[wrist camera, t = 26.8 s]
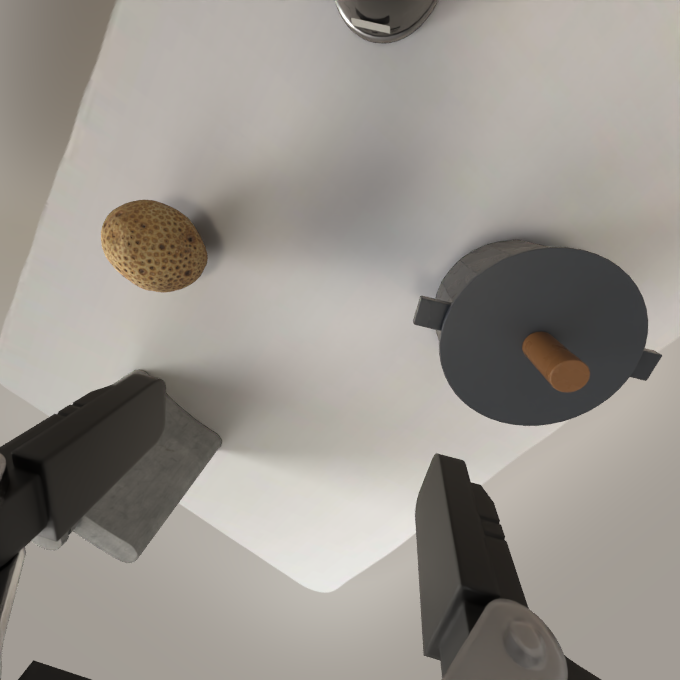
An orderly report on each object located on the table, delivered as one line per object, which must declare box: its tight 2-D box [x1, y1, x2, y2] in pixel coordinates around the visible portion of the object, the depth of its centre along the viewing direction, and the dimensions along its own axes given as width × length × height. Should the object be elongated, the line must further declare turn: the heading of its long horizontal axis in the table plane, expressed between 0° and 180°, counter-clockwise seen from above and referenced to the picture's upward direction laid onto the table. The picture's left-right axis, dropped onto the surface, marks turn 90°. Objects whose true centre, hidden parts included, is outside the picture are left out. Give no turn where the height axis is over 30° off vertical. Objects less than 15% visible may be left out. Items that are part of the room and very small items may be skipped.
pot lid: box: [439, 247, 648, 426], centre depth 26 cm, size 15×15×7 cm
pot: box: [413, 240, 662, 381], centre depth 33 cm, size 14×20×10 cm
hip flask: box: [31, 370, 221, 563], centre depth 40 cm, size 16×4×20 cm, turn 45°
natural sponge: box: [101, 200, 208, 292], centre depth 35 cm, size 9×9×10 cm
